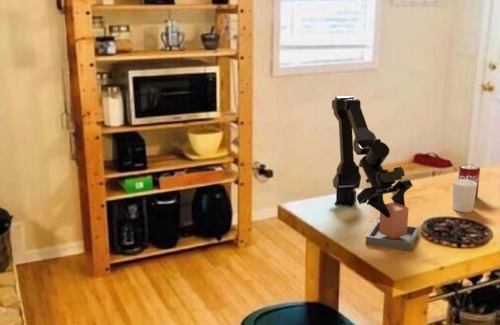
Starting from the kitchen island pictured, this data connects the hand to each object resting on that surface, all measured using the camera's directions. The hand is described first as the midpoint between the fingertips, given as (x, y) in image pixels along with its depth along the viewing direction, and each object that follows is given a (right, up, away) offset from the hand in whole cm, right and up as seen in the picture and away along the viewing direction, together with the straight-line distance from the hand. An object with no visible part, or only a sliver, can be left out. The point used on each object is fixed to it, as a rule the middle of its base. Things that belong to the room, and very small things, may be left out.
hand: (397, 215), depth 182 cm
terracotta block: (-1, -6, +3) cm, 7 cm away
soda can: (+36, +3, +40) cm, 54 cm away
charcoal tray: (-1, -8, +3) cm, 9 cm away
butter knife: (-5, -5, +17) cm, 19 cm away
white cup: (+30, -1, +28) cm, 41 cm away
